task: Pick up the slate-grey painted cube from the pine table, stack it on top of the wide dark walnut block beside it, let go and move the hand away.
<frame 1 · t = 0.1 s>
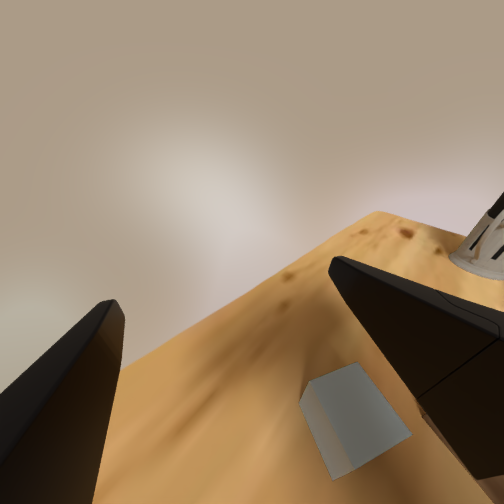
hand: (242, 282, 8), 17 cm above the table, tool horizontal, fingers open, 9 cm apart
slate cube: (337, 425, 17), on the table
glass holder: (469, 269, 37), on the table
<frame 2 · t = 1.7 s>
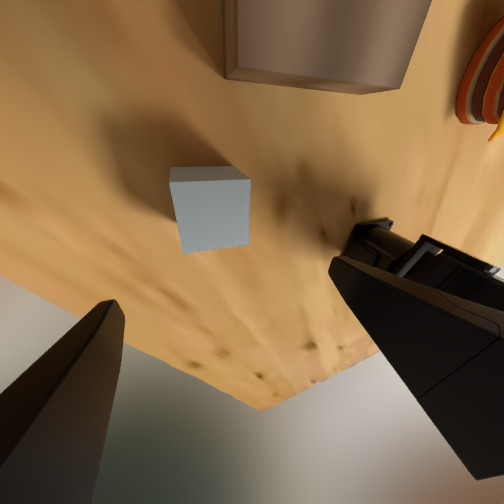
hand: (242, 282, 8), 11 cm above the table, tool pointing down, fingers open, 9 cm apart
slate cube: (206, 196, 17), on the table
hamburger: (490, 71, 19), on the table
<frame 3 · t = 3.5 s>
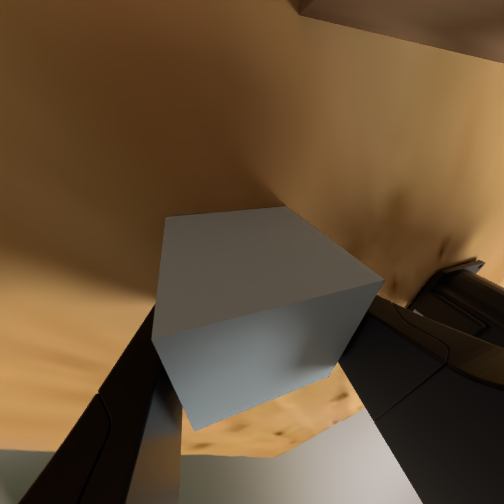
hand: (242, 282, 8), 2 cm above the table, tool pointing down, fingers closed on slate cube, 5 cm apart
slate cube: (233, 260, 9), on the table, touching gripper
when the fingers open (7 cm above the table, at t = 8.8 s): slate cube drops 2 cm, resting on walnut block.
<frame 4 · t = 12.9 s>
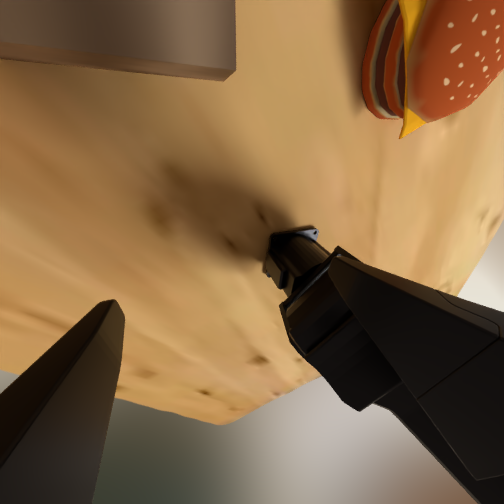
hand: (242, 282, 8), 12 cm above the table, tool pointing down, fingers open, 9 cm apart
hamburger: (401, 56, 16), on the table
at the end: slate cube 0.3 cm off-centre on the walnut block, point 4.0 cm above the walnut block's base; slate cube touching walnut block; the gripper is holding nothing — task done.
